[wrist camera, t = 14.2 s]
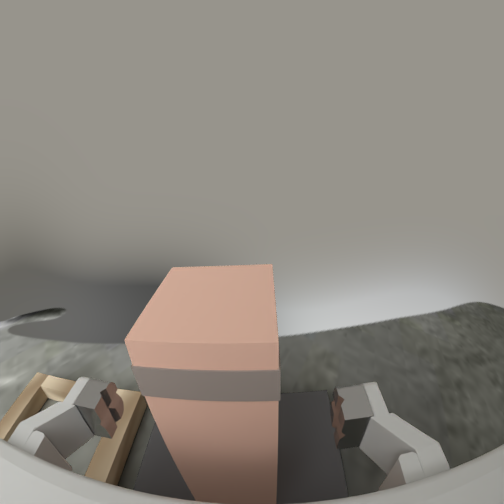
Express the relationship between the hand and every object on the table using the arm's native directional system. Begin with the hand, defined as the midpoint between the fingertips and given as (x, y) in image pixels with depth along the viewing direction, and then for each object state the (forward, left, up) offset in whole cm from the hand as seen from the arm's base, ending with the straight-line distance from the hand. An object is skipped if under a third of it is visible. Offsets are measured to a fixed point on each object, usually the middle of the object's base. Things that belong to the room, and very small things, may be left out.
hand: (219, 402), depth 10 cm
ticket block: (0, -1, -8) cm, 8 cm away
